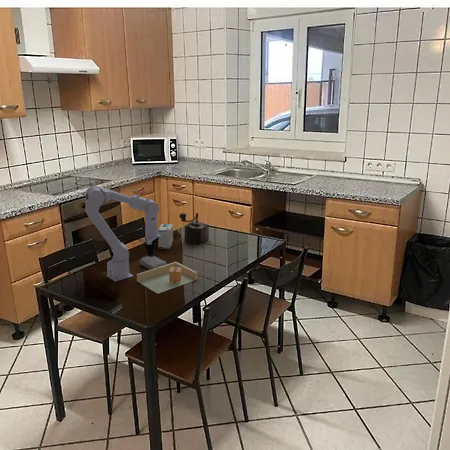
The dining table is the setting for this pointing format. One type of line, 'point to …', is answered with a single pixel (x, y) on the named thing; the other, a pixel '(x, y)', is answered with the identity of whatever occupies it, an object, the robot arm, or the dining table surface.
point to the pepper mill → (195, 230)
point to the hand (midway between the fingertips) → (152, 253)
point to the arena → (165, 277)
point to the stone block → (152, 262)
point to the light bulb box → (165, 235)
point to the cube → (175, 274)
